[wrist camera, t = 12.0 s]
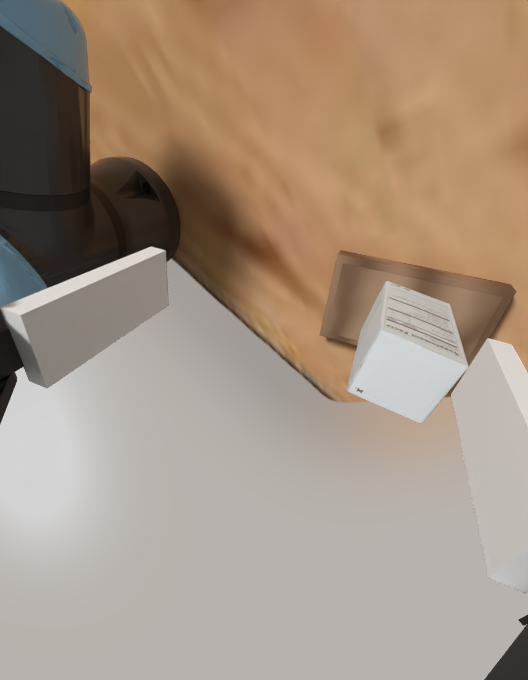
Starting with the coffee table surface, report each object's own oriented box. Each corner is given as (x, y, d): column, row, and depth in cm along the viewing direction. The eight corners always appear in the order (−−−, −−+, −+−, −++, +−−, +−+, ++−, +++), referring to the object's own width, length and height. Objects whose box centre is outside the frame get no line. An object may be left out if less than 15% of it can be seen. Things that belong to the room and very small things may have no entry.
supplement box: (417, 354, 38) (420, 427, 28) (359, 329, 39) (342, 392, 29) (453, 302, 34) (473, 368, 23) (386, 277, 35) (378, 329, 25)
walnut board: (322, 328, 43) (319, 335, 42) (340, 250, 37) (337, 255, 36) (464, 366, 39) (466, 376, 37) (510, 284, 33) (516, 291, 31)
